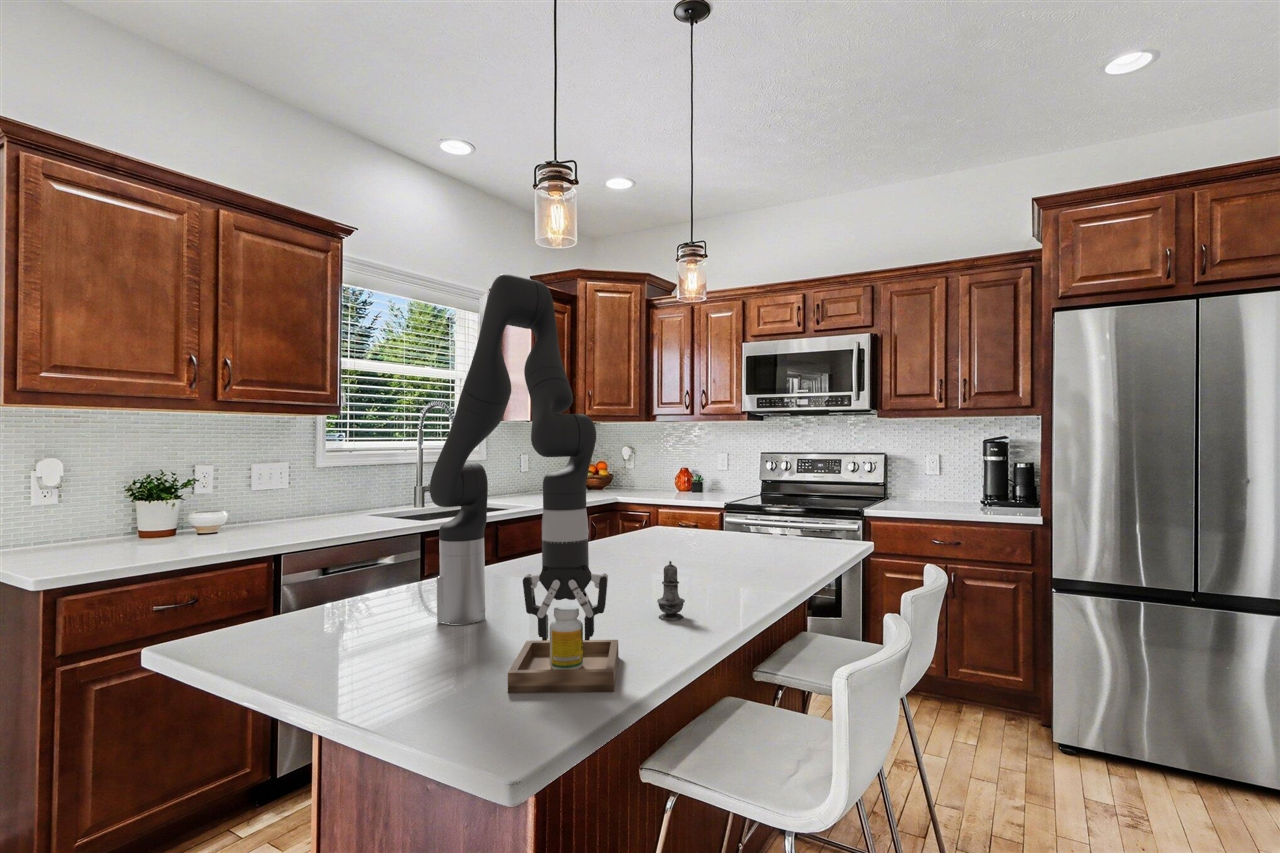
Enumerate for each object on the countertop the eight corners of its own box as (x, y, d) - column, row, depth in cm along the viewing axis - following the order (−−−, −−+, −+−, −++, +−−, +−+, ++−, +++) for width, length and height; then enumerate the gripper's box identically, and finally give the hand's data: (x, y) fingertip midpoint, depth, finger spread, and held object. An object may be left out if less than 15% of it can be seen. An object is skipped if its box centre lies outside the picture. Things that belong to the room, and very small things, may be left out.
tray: (507, 692, 103) (507, 672, 103) (526, 657, 119) (526, 640, 119) (613, 691, 103) (613, 671, 103) (618, 656, 119) (618, 639, 119)
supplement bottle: (545, 664, 112) (545, 606, 112) (576, 659, 114) (575, 602, 114) (556, 675, 107) (555, 614, 107) (588, 669, 110) (587, 609, 110)
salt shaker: (685, 621, 140) (684, 563, 141) (657, 621, 141) (656, 563, 141) (684, 613, 146) (683, 557, 146) (657, 614, 146) (656, 558, 147)
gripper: (516, 540, 107) (517, 647, 107) (607, 539, 107) (609, 646, 107) (525, 533, 115) (526, 633, 115) (610, 532, 115) (611, 632, 114)
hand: (566, 638), depth 111 cm, fingers open, 6 cm apart
